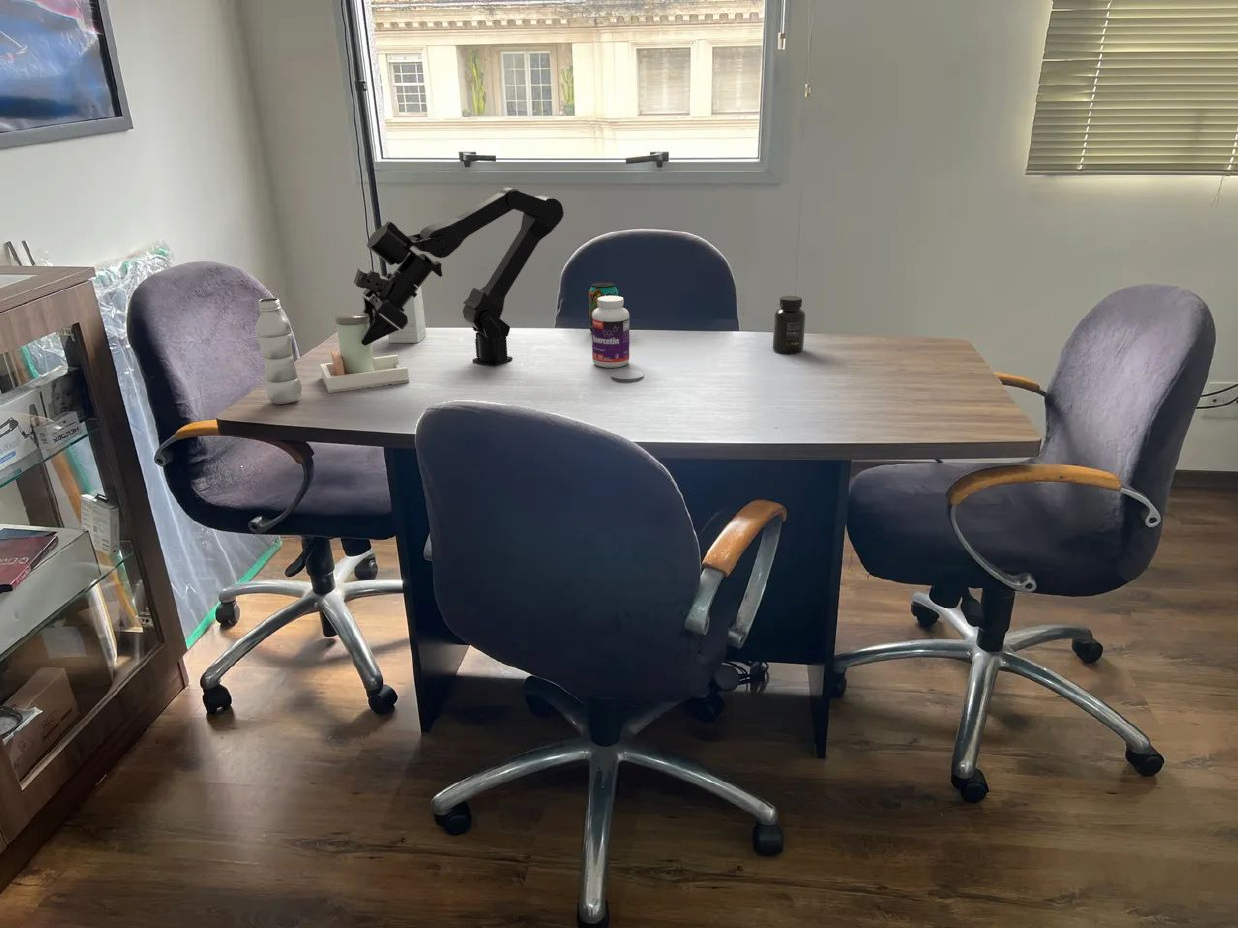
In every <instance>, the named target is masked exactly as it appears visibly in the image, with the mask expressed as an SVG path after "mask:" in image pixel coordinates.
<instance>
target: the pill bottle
mask: <svg viewBox="0 0 1238 928" xmlns="http://www.w3.org/2000/svg"><path fill="white" fill-rule="evenodd" d="M624 303H625V300H624V297H622V296H619V295H618V296H602V297H599V298H598V303H597V304H598V306H599V308H597V309H595V310H594V311H593V313H592V332H591V339H592V340H591V341H592V342H591V345H592V346H591V349H592V350H591V352H592V357H591V358H592V362H593V364H595V366H597V367H600V368H606V369H610V368H611V369H612V368H613V369H614V368H621V367H624V366H626V365H628V363H629V361H630V312H629V311H628V310H627V309H626V308H624V307H623V306H624Z"/></svg>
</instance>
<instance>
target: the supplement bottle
mask: <svg viewBox="0 0 1238 928" xmlns="http://www.w3.org/2000/svg"><path fill="white" fill-rule="evenodd" d="M778 305H779V308H778V309H776V310H775V313H774V317H773V318H774V321H773V333H772V349H773V351H774V352H775V353H778V354H783V355H796V354H800V353H802V352H803V350H804V342H805V330H806V328H805V327H806V313H805V311H804V310H803V309H801V308H802V306H803V298H802V297H800V296H795V295H785V296H781V297H780V298H779V304H778Z"/></svg>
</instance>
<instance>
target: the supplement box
mask: <svg viewBox="0 0 1238 928" xmlns="http://www.w3.org/2000/svg"><path fill="white" fill-rule="evenodd" d="M416 287H417V286H416ZM417 288H418V287H417ZM416 293H417V296H416V297H415V298H414V297H413V296H412V297H411V299H410V300H409V301H408V302H407V303H406V305H405V306H404V307H403V308H404V309H405V310H404V313H405V314H406V315H407V318H408V323H407V325H406V326H405V327H404V328H403V330H402V329H400V328H399V327H398V326H397V327H398V329H399V331H395V332H393V333H391V334H389V335H387V337H388V341H389V343H390V344H391V343H394V344H395V343H397V344H398V343H400V344H401V343H402V344H403V343H404V344H405V343H408V344H412V343H413V344H415V343H416V344H417V343H420V342H421V341H422V340H423V339H424V338H426V337H427V329H426V328H427V327H426V320H425V312H424V311H425V310H424V309H425V308H424V301H423V292H422V285H421V286H420V287H419V289H418V290H417V291H416Z"/></svg>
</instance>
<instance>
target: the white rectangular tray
mask: <svg viewBox="0 0 1238 928" xmlns="http://www.w3.org/2000/svg"><path fill="white" fill-rule="evenodd" d="M373 358H374V366H375V371H371V372H363V373H356V374H348V375H340V376H335V374H334V369H333V362H326V363H320V364H319V365H320V372H321V378H322V380H323V383H324V385H325V387H326V390H327V392H328V394H331V393H337V392H346V391H353V390H361V388H363V389H368V388H367V387H370V388H373V387H372V386H377V387H380V386H379V385H385V386H388V385H387V384H392V385H399V384H407V383H410V379H409V378H410V377H409V369H408V367H407V366H402V365H401V364H400V361H399V360H400V359H399V354H392V355H385V356H375V357H374V356H373Z"/></svg>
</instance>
